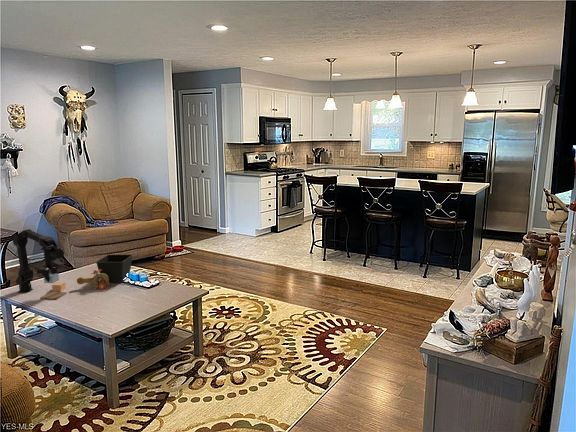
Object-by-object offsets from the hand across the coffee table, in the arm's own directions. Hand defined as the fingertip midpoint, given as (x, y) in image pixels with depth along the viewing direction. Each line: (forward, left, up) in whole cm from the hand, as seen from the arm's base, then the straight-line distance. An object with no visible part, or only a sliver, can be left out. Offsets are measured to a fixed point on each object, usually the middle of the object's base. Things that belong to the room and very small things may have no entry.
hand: (51, 280), depth 280 cm
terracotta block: (-4, +12, -11) cm, 17 cm away
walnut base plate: (0, 0, -11) cm, 11 cm away
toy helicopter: (+19, +17, -12) cm, 28 cm away
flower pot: (+25, +35, -12) cm, 45 cm away
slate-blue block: (0, 0, -1) cm, 1 cm away
